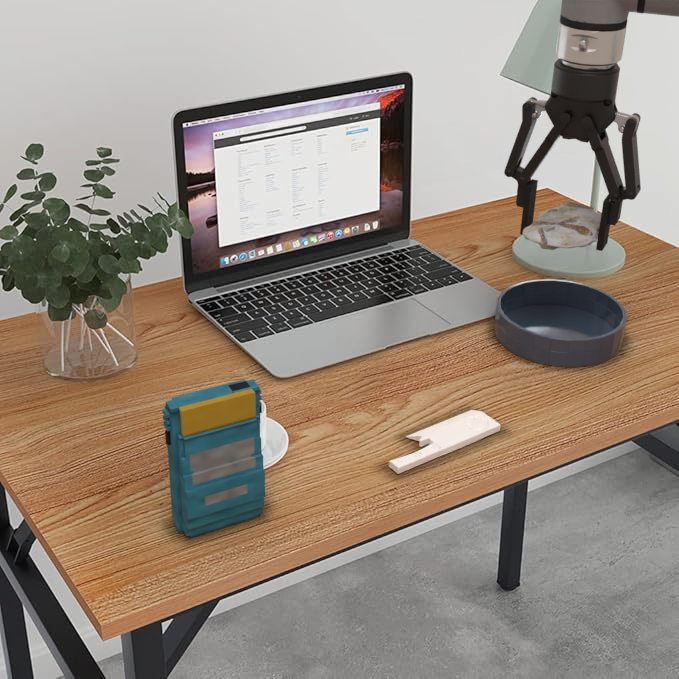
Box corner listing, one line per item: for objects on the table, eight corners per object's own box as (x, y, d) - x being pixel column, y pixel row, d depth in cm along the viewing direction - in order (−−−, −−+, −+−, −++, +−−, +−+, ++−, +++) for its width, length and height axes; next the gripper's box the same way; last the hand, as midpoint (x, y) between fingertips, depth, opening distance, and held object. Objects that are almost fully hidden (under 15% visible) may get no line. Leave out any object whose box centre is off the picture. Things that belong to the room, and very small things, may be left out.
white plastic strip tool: (370, 451, 119) (370, 443, 119) (472, 411, 127) (472, 403, 126) (397, 474, 116) (398, 465, 115) (500, 431, 123) (501, 423, 123)
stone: (588, 265, 128) (592, 240, 127) (514, 251, 131) (517, 226, 130) (607, 229, 138) (611, 205, 136) (538, 216, 141) (541, 193, 139)
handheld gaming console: (255, 495, 112) (253, 374, 105) (272, 517, 109) (271, 395, 102) (167, 521, 108) (158, 398, 101) (182, 546, 105) (174, 420, 98)
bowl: (633, 321, 147) (638, 295, 145) (605, 379, 134) (609, 352, 132) (515, 294, 153) (518, 269, 151) (476, 347, 140) (479, 321, 138)
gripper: (487, 55, 124) (471, 232, 136) (677, 83, 116) (643, 268, 128) (507, 41, 130) (491, 211, 141) (689, 66, 122) (656, 244, 133)
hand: (563, 238), depth 134 cm, fingers closed on stone, 9 cm apart
